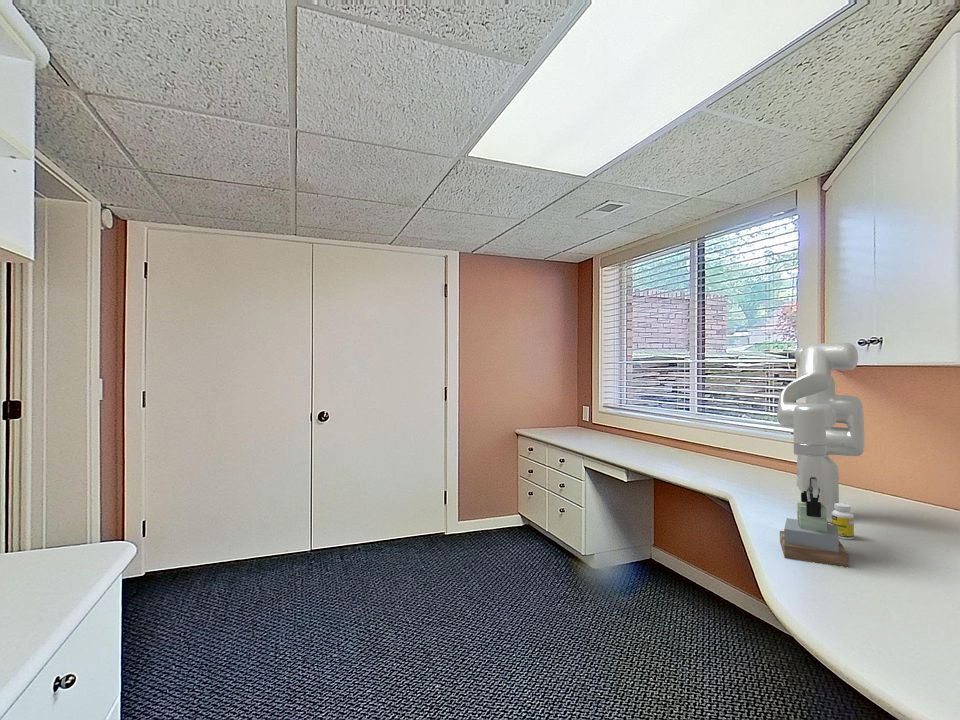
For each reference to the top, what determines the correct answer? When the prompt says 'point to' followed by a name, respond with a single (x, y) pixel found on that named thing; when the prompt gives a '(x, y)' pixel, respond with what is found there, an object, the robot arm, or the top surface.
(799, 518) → the sage cube
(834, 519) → the supplement bottle
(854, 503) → the top surface
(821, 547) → the tower top block
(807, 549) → the tower base block
